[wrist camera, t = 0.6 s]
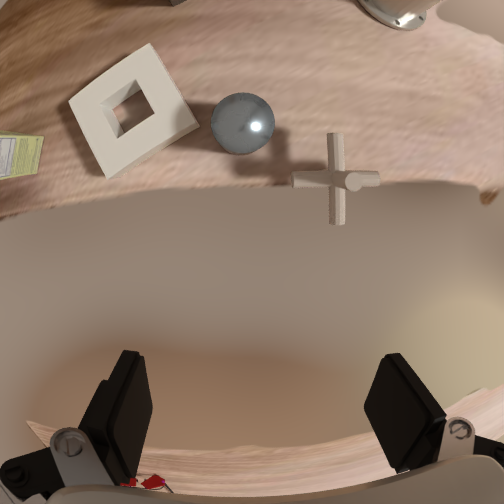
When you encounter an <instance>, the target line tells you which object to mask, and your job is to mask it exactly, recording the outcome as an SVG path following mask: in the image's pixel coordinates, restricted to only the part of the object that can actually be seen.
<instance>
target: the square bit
mask: <svg viewBox="0 0 504 504" xmlns="http://www.w3.org/2000/svg"><path fill="white" fill-rule="evenodd" d="M169 1H170V3H171V4H172V5H173V7H174V6H176V5H178V4H180V3H182V2H184V1H186V0H169Z"/></svg>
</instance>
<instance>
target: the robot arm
mask: <svg viewBox="0 0 504 504" xmlns="http://www.w3.org/2000/svg"><path fill="white" fill-rule="evenodd" d="M358 1H359V2H360V4H361V5H362V6H363V7H364V8H365V10H366V11H368V12H369V13H370V14H371V15H372V16H373V17H375V18H376V19H377V20H379V21H380V22H382V23H384V24H385V25H388V26H390V27H392V28H395V29H398V30H404V31H410V30H414V29H417V28H419V27H420V26H422V25H423V24H424V22H425V20H426V15H427V13H426V10H428V9H429V8H431V7H433V6H434V5H436V4H437V3H439V2H441V1H442V0H358ZM152 408H153V407H152V400H151V395H150V389H149V384H148V378H147V373H146V367H145V360H144V357H143V356H140V355H139V352H137V351H129V350H124V351H123V352H122V354H121V356H120V358H119V360H118V362H117V363H116V366H115V367H114V369H113V371H112V373H111V375H110V377H109V379H108V380H103V381H101V383H100V384H99V386H98V388H97V390H96V392H95V394H94V396H93V398H92V400H91V402H90V404H89V406H88V408H87V410H86V412H85V414H84V416H83V418H82V420H81V422H80V425H79V427H78V429H77V428H71V427H68V428H62V429H60V430H58V431H56V432H55V433H54V434H53V435H52V437H51V439H50V447H48V448H45V449H42V450H39V451H36V452H32V453H29V454H26V455H23V456H20V457H16V458H13V459H10V460H8V461H6V462H5V463H4V464H2V466H1V468H0V504H504V444H503V443H501V442H497V441H494V440H490V439H487V438H483V437H480V436H477V435H475V429H474V427H473V425H472V424H471V422H470V421H468V420H467V419H464V418H462V417H453V418H450V419H449V420H448V421H447V420H446V419H445V417H446V416H447V415H446V413H445V412H444V411H443V409H442V408H441V406H440V405H439V404H438V402H437V401H436V400H435V399H434V397H433V396H432V394H431V393H430V392H429V390H428V389H427V388H426V386H425V385H424V384H423V382H422V381H421V380H420V378H419V377H418V376H417V374H416V373H415V372H414V370H413V369H412V368H411V367H410V365H409V364H408V363H407V361H406V360H405V359H404V358H403V357H402V355H401V354H400V353H393V354H387V355H385V357H384V358H382V359H381V362H380V364H379V367H378V370H377V373H376V375H375V378H374V381H373V383H372V386H371V389H370V391H369V394H368V396H367V399H366V401H365V404H364V411H365V413H366V415H367V417H368V419H369V421H370V423H371V426H372V428H373V430H374V432H375V434H376V436H377V438H378V440H379V442H380V445H381V447H382V449H383V451H384V453H385V455H386V458H387V460H388V462H389V464H390V466H391V467H392V468H395V471H396V473H397V474H398V473H401V474H398V475H394V476H391V477H387V478H384V479H380V480H376V481H372V482H368V483H363V484H359V485H354V486H349V487H344V488H338V489H333V490H326V491H320V492H312V493H304V494H295V495H283V496H267V497H213V496H197V495H185V494H175V493H166V492H159V491H152V490H145V489H137V488H131V487H124V486H120V485H121V483H124V484H129V483H130V479H131V478H135V477H136V473H137V469H138V465H139V461H140V457H141V453H142V449H143V445H144V441H145V437H146V433H147V430H148V426H149V422H150V418H151V415H152ZM408 470H410V471H408ZM405 471H408V472H405ZM402 472H405V473H402Z"/></svg>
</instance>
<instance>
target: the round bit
mask: <svg viewBox="0 0 504 504" xmlns="http://www.w3.org/2000/svg"><path fill="white" fill-rule="evenodd" d="M274 126H275V119H274V114H273V112H272V110H271V108H270V106H269V105H268V104H267V103H266V102H265V101H264V100H263V99H262V98H260V97H258V96H256V95H254V94H250V93H235V94H232V95H229V96H227V97H226V98H224V99H223V100H221V101H220V102H219V103H218V105H217V106H216V107H215V109H214V111H213V114H212V117H211V129H212V132H213V135H214V137H215V138H216V140H217V141H218V143H219V144H220V145H221V146H222V147H223V148H224V149H225V150H226V151H228V152H229V153H231V154H234V155H248V154H251V153H253V152H255V151H256V150H258V149H259V148H261V147H262V146H264V145H265V144H266V143H267V142H268V141H269V139H270V138H271V136H272V134H273V131H274Z"/></svg>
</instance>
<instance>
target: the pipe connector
mask: <svg viewBox="0 0 504 504" xmlns="http://www.w3.org/2000/svg"><path fill="white" fill-rule="evenodd" d="M327 147H328V170H327V169H322V170H320V171H292V172H291V185H292V188H308V187H329V223H330V224H333V225H343V224H345V189H346V190H349V191H358V190H359V189H360V188H361V187H367V186H368V187H370V186H371V187H377V186H379V184H380V175H379V172H378V171H352V170H345V167H344V142H343V134H342V133H328V134H327Z"/></svg>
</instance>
